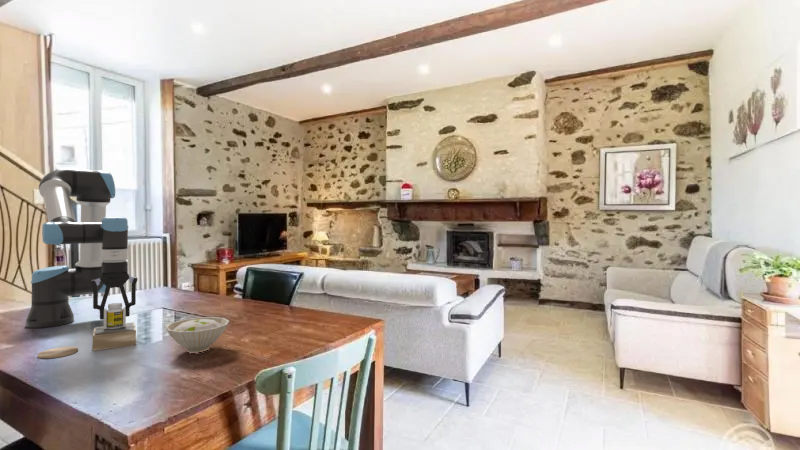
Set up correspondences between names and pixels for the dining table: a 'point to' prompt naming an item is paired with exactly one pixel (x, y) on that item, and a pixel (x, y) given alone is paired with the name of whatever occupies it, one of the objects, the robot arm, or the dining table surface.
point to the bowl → (197, 332)
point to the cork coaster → (57, 352)
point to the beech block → (114, 337)
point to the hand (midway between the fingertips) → (114, 326)
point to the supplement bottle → (114, 316)
